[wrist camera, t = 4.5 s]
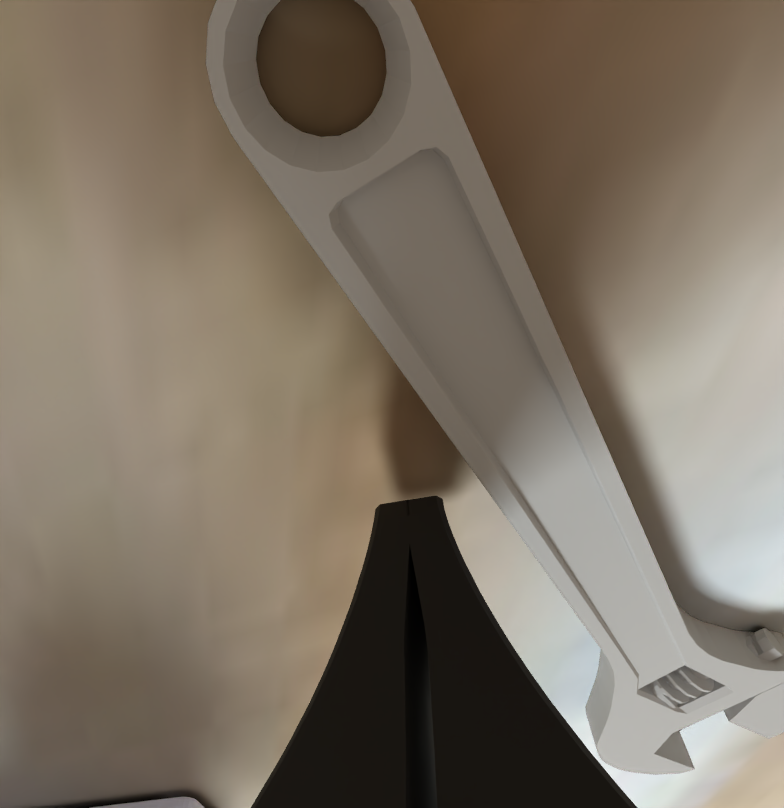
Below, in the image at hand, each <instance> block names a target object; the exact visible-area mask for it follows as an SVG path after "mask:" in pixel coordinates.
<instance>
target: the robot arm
mask: <svg viewBox="0 0 784 808" xmlns="http://www.w3.org/2000/svg"><path fill="white" fill-rule="evenodd" d="M91 808H205V807H204V806H203V805H201V804H200V803H199V802H198V801H197V800H196V799H194V798H191V797H174V798H166V799H157V800H149V801H141V802H132V803H124V804H116V805H107V806H99V807H91ZM251 808H637V807H636V806H635V805H634V803H633V802H632V801H631V800H630V799H629V798H628V797H627V795H626V794H625V793H624V792H623V791H622V790H621V788H620V787H619V786H618V785H617V784H616V783H615V781H614V780H613V779H612V778H611V777H610V775H609V774H608V773H607V772H606V771H605V769H604V768H603V767H602V766H601V765H600V763H599V762H598V761H597V760H596V759H595V757H594V756H593V755H592V754H591V753H590V751H589V750H588V749H587V748H586V746H585V745H584V744H583V742H582V741H581V740H580V739H579V737H578V736H577V735H576V733H575V732H574V731H573V729H572V728H571V727H570V726H569V724H568V723H567V722H566V720H565V719H564V718H563V717H562V715H561V714H560V713H559V711H558V710H557V709H556V708H555V706H554V705H553V704H552V702H551V701H550V700H549V698H548V697H547V696H546V694H545V693H544V691H543V690H542V689H541V687H540V686H539V684H538V683H537V682H536V680H535V679H534V677H533V676H532V674H531V673H530V672H529V670H528V669H527V667H526V666H525V664H524V663H523V661H522V660H521V658H520V657H519V655H518V654H517V652H516V651H515V649H514V648H513V646H512V645H511V643H510V642H509V640H508V638H507V637H506V635H505V634H504V632H503V630H502V629H501V627H500V626H499V624H498V622H497V620H496V619H495V617H494V615H493V614H492V612H491V610H490V609H489V607H488V605H487V603H486V602H485V600H484V598H483V596H482V595H481V593H480V591H479V589H478V587H477V585H476V583H475V581H474V579H473V577H472V575H471V573H470V572H469V570H468V568H467V566H466V564H465V562H464V559H463V557H462V555H461V553H460V551H459V548H458V546H457V544H456V541H455V539H454V537H453V534H452V531H451V529H450V526H449V523H448V520H447V517H446V513H445V510H444V505H443V500H442V498H440V497H438V496H431V497H424V498H418V499H412V500H405V501H399V502H393V503H386V504H380V505H379V506H378V507H377V508H376V510H375V517H374V523H373V528H372V533H371V537H370V542H369V546H368V550H367V553H366V557H365V561H364V564H363V568H362V571H361V574H360V577H359V581H358V584H357V587H356V590H355V593H354V596H353V599H352V602H351V605H350V608H349V611H348V613H347V616H346V619H345V621H344V624H343V627H342V629H341V632H340V634H339V637H338V640H337V642H336V645H335V647H334V650H333V652H332V655H331V657H330V659H329V662H328V664H327V666H326V668H325V671H324V673H323V675H322V677H321V680H320V682H319V684H318V686H317V688H316V690H315V692H314V695H313V697H312V699H311V701H310V703H309V705H308V707H307V709H306V711H305V713H304V715H303V716H302V718H301V720H300V722H299V724H298V726H297V728H296V730H295V732H294V734H293V736H292V738H291V740H290V742H289V743H288V745H287V747H286V749H285V751H284V753H283V754H282V756H281V758H280V760H279V761H278V763H277V765H276V766H275V768H274V770H273V772H272V773H271V775H270V777H269V778H268V780H267V782H266V783H265V785H264V787H263V788H262V790H261V792H260V793H259V795H258V797H257V798H256V800H255V802H254V803H253V805H252V807H251Z"/></svg>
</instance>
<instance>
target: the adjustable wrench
mask: <svg viewBox="0 0 784 808" xmlns="http://www.w3.org/2000/svg"><path fill="white" fill-rule="evenodd" d="M280 1H281V0H216V3H215V5H214V8H213V11H212V13H211V16H210V19H209V21H208V31H207V49H206V67H207V71H208V76H209V80H210V85H211V89H212V94H213V98H214V103H215V104H216V106H217V108H218V110H219V112H220V114H221V116H222V118H223V120H224V122H225V123H226V125H227V127H228V129H229V131H230V133H231V135H232V137H233V138H234V139H235V141H236V142H237V144H238V145H239V146H240V148H241V149H242V151H243V152H244V153H245V155H246V156H247V157H248V159H249V160H250V162H251V163H252V164H253V166H254V167H255V169H256V170H257V171H258V173H259V174H260V176H261V177H262V178H263V180H264V181H265V183H266V184H267V185H268V187H269V188H270V189H271V191H272V192H273V194H274V195H275V196H276V198H277V199H278V201H279V202H280V203H281V205H282V206H283V208H284V209H285V210H286V212H287V213H288V214H289V216H290V217H291V219H292V220H293V221H294V223H295V224H296V226H297V227H298V228H299V230H300V231H301V233H302V234H303V235H304V237H305V238H306V240H307V241H308V242H309V244H310V245H311V246H312V248H313V249H314V251H315V252H316V253H317V255H318V256H319V258H320V259H321V260H322V262H323V263H324V265H325V266H326V267H327V269H328V270H329V271H330V273H331V274H332V276H333V277H334V278H335V280H336V281H337V283H338V284H339V285H340V287H341V288H342V290H343V291H344V292H345V294H346V295H347V297H348V298H349V299H350V301H351V302H352V303H353V305H354V306H355V308H356V309H357V310H358V312H359V313H360V315H361V316H362V317H363V319H364V320H365V322H366V323H367V324H368V326H369V327H370V328H371V330H372V331H373V333H374V334H375V335H376V337H377V338H378V340H379V341H380V342H381V344H382V345H383V347H384V348H385V349H386V351H387V352H388V354H389V355H390V356H391V358H392V359H393V360H394V362H395V363H396V365H397V366H398V367H399V369H400V370H401V372H402V373H403V374H404V376H405V377H406V379H407V380H408V381H409V383H410V384H411V386H412V387H413V388H414V390H415V391H416V392H417V394H418V395H419V397H420V398H421V399H422V401H423V402H424V404H425V405H426V406H427V408H428V409H429V411H430V412H431V413H432V415H433V416H434V417H435V419H436V420H437V422H438V423H439V424H440V426H441V427H442V429H443V430H444V431H445V433H446V434H447V436H448V437H449V438H450V440H451V441H452V443H453V444H454V445H455V447H456V448H457V449H458V451H459V452H460V454H461V455H462V456H463V458H464V459H465V461H466V462H467V463H468V465H469V466H470V468H471V469H472V470H473V472H474V473H475V474H476V476H477V477H478V479H479V480H480V481H481V483H482V484H483V486H484V487H485V488H486V490H487V491H488V493H489V494H490V495H491V497H492V498H493V500H494V501H495V502H496V504H497V505H498V506H499V508H500V509H501V511H502V512H503V513H504V515H505V516H506V518H507V519H508V520H509V522H510V523H511V525H512V526H513V527H514V529H515V530H516V532H517V533H518V534H519V536H520V537H521V538H522V540H523V541H524V543H525V544H526V545H527V547H528V548H529V550H530V551H531V552H532V554H533V555H534V557H535V558H536V559H537V561H538V562H539V563H540V565H541V566H542V568H543V569H544V570H545V572H546V573H547V575H548V576H549V577H550V579H551V580H552V582H553V583H554V584H555V586H556V587H557V589H558V590H559V591H560V593H561V594H562V595H563V597H564V598H565V600H566V601H567V602H568V604H569V605H570V607H571V608H572V609H573V611H574V612H575V614H576V615H577V616H578V618H579V619H580V620H581V622H582V623H583V625H584V626H585V627H586V629H587V630H588V632H589V633H590V634H591V636H592V637H593V639H594V640H595V641H596V643H597V644H598V646H599V647H600V648H601V652H600V659H599V667H598V672H597V676H596V680H595V682H594V685H593V688H592V691H591V693H590V696H589V699H588V702H587V704H586V715H587V718H588V721H589V725H590V728H591V732H592V735H593V738H594V742H595V745H596V748H597V752H598V754H599V756H600V758H601V759H602V760H603V761H604V762H605V763H607V764H609V765H611V766H613V767H615V768H617V769H620V770H624V771H629V772H634V773H644V774H677V773H683V772H687V771H690V770H693V769H695V768H694V766H693V764H692V761H691V759H690V756H689V754H688V751H687V749H686V747H685V744H684V742H683V739H682V737H681V734H680V732H679V730H681V729H683V728H686V727H688V726H690V725H692V724H695V723H697V722H699V721H701V720H703V719H705V718H708V717H710V716H712V715H714V714H716V713H719V712H721V711H723V710H724V712H725V714H726V716H727V718H728V720H729V722H732V723H734V724H736V725H738V726H741V727H743V728H745V729H748V730H750V731H752V732H754V733H757V734H759V735H761V736H763V737H766V738H768V739H769V738H772V737H774V736H777V735H779V734H782V733H783V732H784V637H783V635H782V633H778V632H775V631H768V630H767V629H766V628H763V629H761V630H759V631H757V632H745V631H737V630H731V629H728V628H724V627H720V626H717V625H713V624H709V623H706V622H702V621H700V620H698V619H696V618H694V617H691V616H690V615H688V614H687V613H686V612H685V611H683V610H682V609H681V608H680V607H679V606H678V605H677V604H676V602H675V601H674V599H673V597H672V594H671V592H670V590H669V587H668V585H667V583H666V580H665V578H664V576H663V574H662V571H661V569H660V567H659V564H658V562H657V560H656V558H655V555H654V553H653V551H652V548H651V546H650V544H649V542H648V539H647V537H646V535H645V532H644V530H643V528H642V526H641V523H640V521H639V519H638V516H637V514H636V512H635V510H634V507H633V505H632V503H631V500H630V498H629V496H628V494H627V491H626V489H625V487H624V484H623V482H622V480H621V478H620V475H619V473H618V471H617V468H616V466H615V464H614V462H613V459H612V457H611V455H610V452H609V450H608V448H607V446H606V443H605V441H604V439H603V436H602V434H601V432H600V430H599V427H598V425H597V423H596V420H595V418H594V416H593V414H592V411H591V409H590V407H589V404H588V402H587V400H586V398H585V395H584V393H583V391H582V388H581V386H580V384H579V382H578V379H577V377H576V375H575V372H574V370H573V368H572V366H571V363H570V361H569V359H568V356H567V354H566V352H565V350H564V347H563V345H562V343H561V340H560V338H559V336H558V334H557V331H556V329H555V327H554V324H553V322H552V320H551V318H550V315H549V313H548V311H547V308H546V306H545V304H544V302H543V299H542V297H541V295H540V292H539V290H538V288H537V286H536V283H535V281H534V279H533V276H532V274H531V272H530V270H529V267H528V265H527V263H526V260H525V258H524V256H523V254H522V251H521V249H520V247H519V244H518V242H517V240H516V238H515V235H514V233H513V231H512V228H511V226H510V224H509V222H508V219H507V217H506V215H505V212H504V210H503V208H502V206H501V203H500V201H499V199H498V196H497V194H496V192H495V189H494V187H493V185H492V183H491V180H490V178H489V176H488V173H487V171H486V169H485V167H484V164H483V162H482V160H481V157H480V155H479V153H478V151H477V148H476V146H475V144H474V141H473V139H472V137H471V135H470V132H469V130H468V128H467V125H466V123H465V121H464V119H463V116H462V114H461V112H460V109H459V107H458V105H457V103H456V100H455V98H454V96H453V93H452V91H451V89H450V87H449V84H448V82H447V80H446V77H445V75H444V73H443V71H442V68H441V66H440V64H439V61H438V59H437V57H436V55H435V52H434V50H433V48H432V45H431V43H430V41H429V39H428V36H427V34H426V32H425V29H424V27H423V25H422V23H421V20H420V18H419V16H418V13H417V11H416V9H415V7H414V5H413V4H412V2H411V1H410V0H354V1H355V2H357V3H358V4H359V5H360V6H362V7H363V8H364V9H365V11H366V12H367V13H368V15H369V16H370V18H371V19H372V20H373V22H374V23H375V25H376V26H377V28H378V31H379V33H380V36H381V39H382V42H383V45H384V48H385V54H386V71H387V75H386V79H385V84H384V88H383V93H382V96H381V98H380V100H379V102H378V104H377V105H376V107H375V109H374V111H373V112H372V114H371V115H370V116H369V117H368V118H367V119H366V120H365V121H364V122H363V123H362V124H360V125H359V126H358V127H357V128H355V129H353V130H351V131H348V132H346V133H344V134H342V135H338V136H325V137H319V136H316V135H312V134H308V133H304V132H301V131H300V130H298V129H296V128H295V127H293V126H292V125H290V124H289V123H287V122H286V121H284V120H283V119H282V117H281V116H280V115H279V114H278V113H277V112H276V111H275V109H274V108H273V107H272V106H271V105H270V103H269V101H268V99H267V97H266V95H265V93H264V91H263V88H262V86H261V84H260V80H259V74H258V69H257V63H256V55H257V45H258V36H259V34H260V32H261V29H262V27H263V24H264V22H265V20H266V17H267V15H268V14H269V13H270V12H271V11H272V10H273V8H274V7H275V6H276V5H277V4H278V3H279V2H280Z"/></svg>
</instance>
